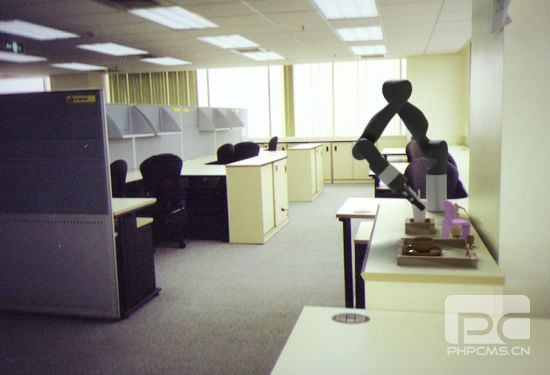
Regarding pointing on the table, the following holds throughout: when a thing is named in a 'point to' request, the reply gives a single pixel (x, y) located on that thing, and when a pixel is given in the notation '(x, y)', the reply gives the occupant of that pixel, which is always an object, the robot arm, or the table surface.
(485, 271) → the table surface
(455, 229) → the figurine
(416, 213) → the smoothie
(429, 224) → the holder
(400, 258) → the tray rim
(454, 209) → the toy chair
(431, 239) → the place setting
